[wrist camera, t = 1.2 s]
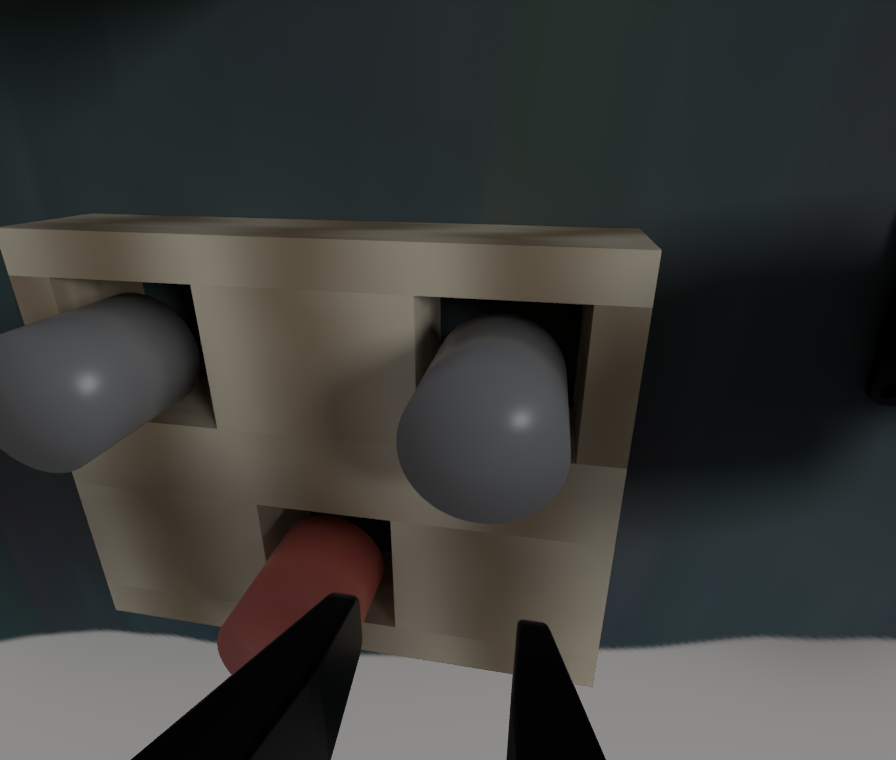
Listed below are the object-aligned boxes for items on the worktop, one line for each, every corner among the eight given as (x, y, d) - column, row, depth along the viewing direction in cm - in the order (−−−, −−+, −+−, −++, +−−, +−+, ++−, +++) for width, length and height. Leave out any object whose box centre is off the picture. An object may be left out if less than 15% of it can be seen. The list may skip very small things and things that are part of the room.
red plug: (381, 521, 19) (335, 621, 15) (386, 605, 21) (345, 715, 17) (277, 509, 20) (206, 601, 16) (289, 591, 22) (228, 694, 18)
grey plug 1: (188, 295, 17) (75, 341, 13) (210, 408, 19) (114, 480, 15) (79, 289, 18) (-61, 331, 14) (108, 399, 19) (-10, 465, 15)
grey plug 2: (572, 316, 15) (579, 378, 11) (560, 439, 17) (562, 533, 13) (434, 309, 16) (392, 364, 12) (435, 428, 18) (398, 513, 13)
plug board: (639, 228, 17) (661, 250, 14) (586, 604, 24) (592, 687, 20) (92, 213, 21) (-7, 227, 17) (174, 547, 27) (116, 609, 23)
